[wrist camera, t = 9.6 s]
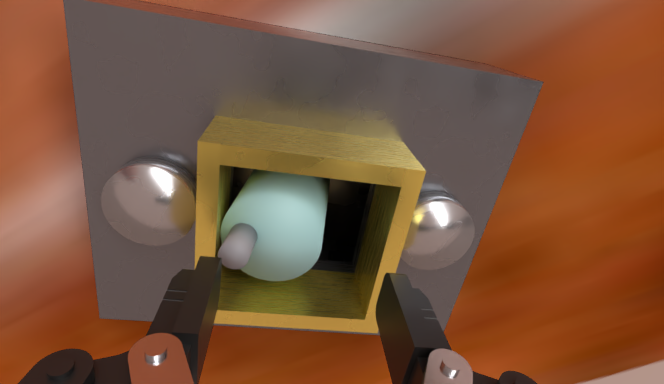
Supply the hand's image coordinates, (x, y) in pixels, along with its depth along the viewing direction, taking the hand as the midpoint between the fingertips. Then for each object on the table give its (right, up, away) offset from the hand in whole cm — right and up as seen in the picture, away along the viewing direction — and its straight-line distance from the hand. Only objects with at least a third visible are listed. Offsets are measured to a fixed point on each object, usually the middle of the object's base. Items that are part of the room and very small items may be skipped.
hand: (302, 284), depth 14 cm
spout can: (-1, +5, +10) cm, 11 cm away
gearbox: (-1, +5, +10) cm, 12 cm away
